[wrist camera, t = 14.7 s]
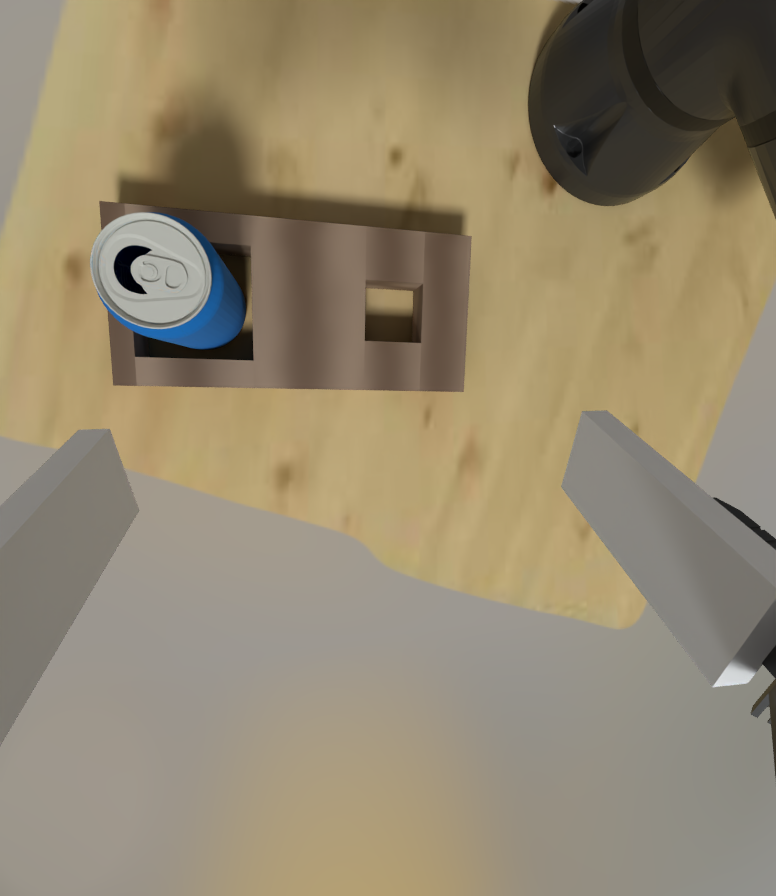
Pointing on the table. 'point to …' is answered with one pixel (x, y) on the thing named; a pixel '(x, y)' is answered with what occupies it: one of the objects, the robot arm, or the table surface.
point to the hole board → (320, 307)
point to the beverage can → (166, 281)
